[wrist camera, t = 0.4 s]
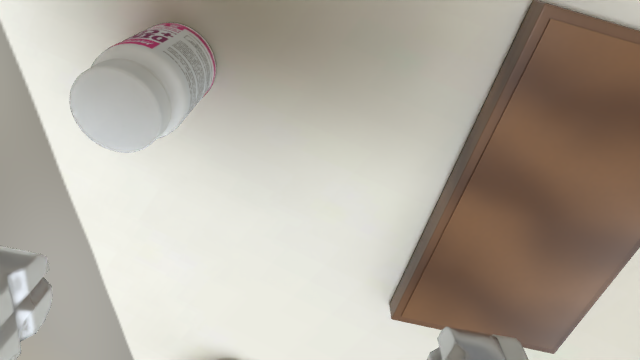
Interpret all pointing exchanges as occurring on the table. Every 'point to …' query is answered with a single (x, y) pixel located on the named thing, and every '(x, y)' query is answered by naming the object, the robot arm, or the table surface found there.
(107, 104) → the pill bottle
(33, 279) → the robot arm
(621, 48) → the cutting board
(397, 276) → the table surface
